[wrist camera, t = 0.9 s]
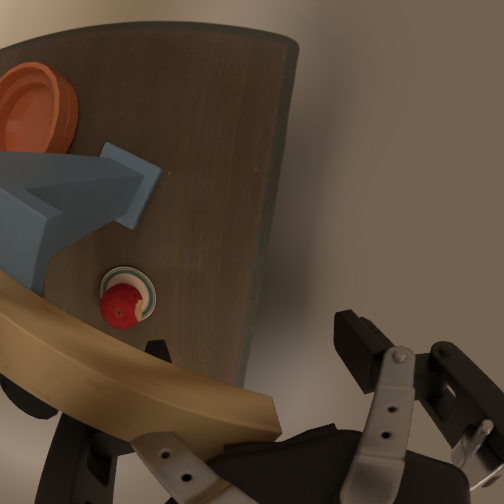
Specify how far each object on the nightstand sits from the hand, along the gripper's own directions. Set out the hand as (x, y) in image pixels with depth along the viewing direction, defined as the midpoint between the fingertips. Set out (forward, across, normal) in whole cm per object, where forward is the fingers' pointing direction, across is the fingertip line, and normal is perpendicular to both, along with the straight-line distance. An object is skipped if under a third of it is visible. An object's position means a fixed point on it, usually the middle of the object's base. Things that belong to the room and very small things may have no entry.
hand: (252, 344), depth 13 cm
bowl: (+24, +25, -19) cm, 39 cm away
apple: (+24, +14, +6) cm, 28 cm away
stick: (-4, +8, -5) cm, 10 cm away
